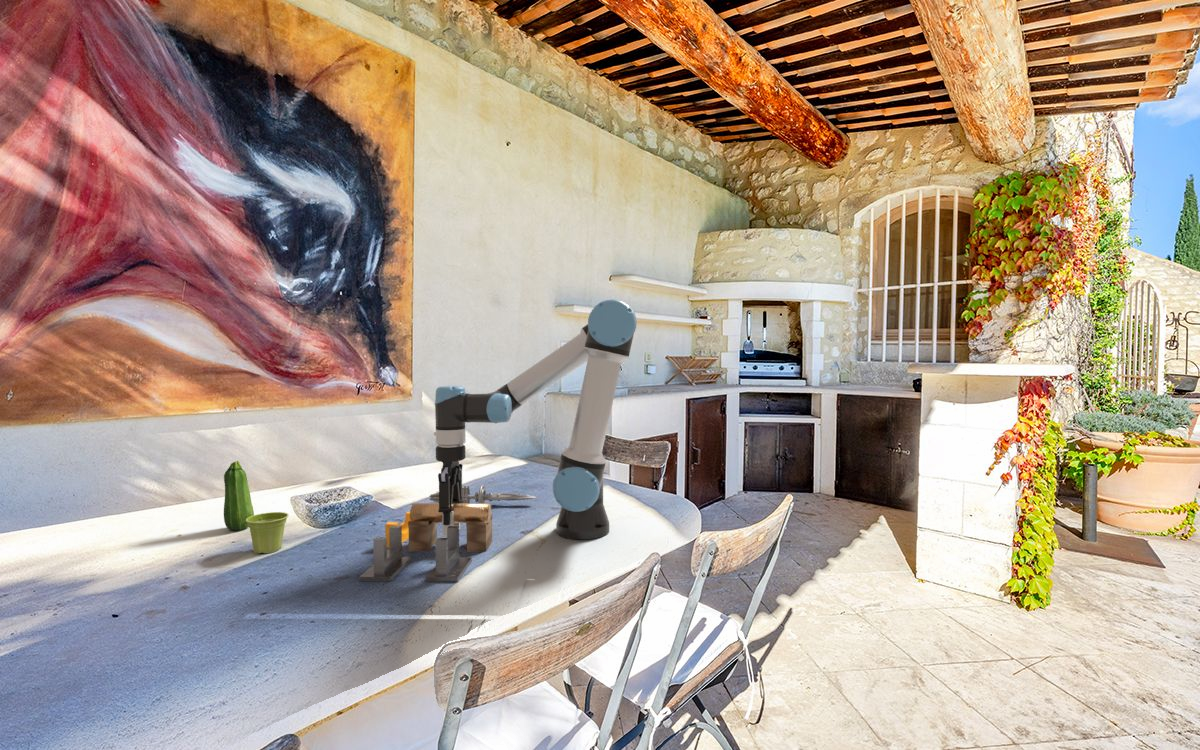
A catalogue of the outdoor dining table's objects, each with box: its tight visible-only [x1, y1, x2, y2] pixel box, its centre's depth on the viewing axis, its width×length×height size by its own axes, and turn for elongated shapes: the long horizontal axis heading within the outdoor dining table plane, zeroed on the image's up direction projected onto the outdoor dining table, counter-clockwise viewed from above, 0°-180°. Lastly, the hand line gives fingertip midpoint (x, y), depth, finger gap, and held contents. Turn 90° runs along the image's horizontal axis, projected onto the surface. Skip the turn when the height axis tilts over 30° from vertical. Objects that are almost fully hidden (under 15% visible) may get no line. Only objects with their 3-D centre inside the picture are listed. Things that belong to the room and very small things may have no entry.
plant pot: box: [246, 511, 289, 554], centre depth 138 cm, size 9×9×9 cm
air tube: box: [409, 502, 492, 524], centre depth 140 cm, size 20×5×5 cm, turn 89°
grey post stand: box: [358, 526, 473, 583], centre depth 124 cm, size 22×12×9 cm, turn 89°
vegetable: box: [223, 460, 255, 532], centre depth 154 cm, size 7×7×20 cm
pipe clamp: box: [384, 510, 411, 549], centre depth 145 cm, size 12×4×6 cm, turn 170°
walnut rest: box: [408, 513, 493, 552], centre depth 140 cm, size 20×8×8 cm, turn 89°
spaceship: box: [428, 484, 537, 503], centre depth 176 cm, size 8×35×8 cm, turn 90°
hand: (451, 532), depth 140 cm, fingers closed on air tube, 5 cm apart
